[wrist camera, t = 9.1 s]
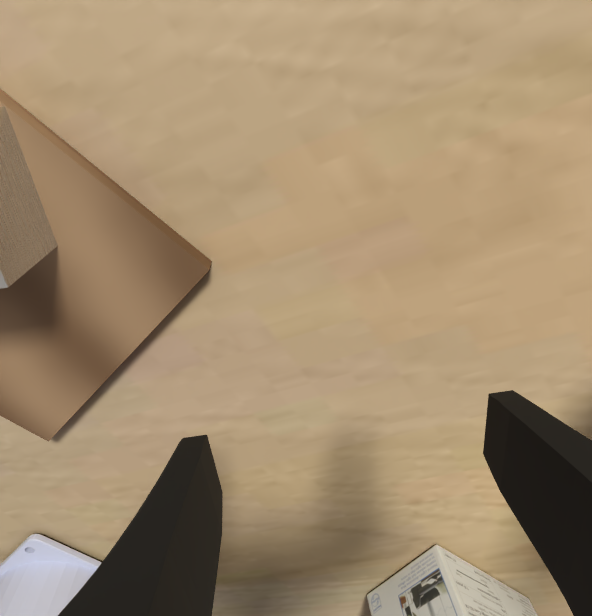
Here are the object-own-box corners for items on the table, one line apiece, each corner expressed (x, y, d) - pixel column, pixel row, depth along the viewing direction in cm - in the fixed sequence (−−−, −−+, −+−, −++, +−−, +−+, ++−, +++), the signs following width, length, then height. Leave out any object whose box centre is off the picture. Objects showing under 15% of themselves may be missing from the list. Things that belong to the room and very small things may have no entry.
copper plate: (56, 427, 23) (48, 441, 22) (-212, 277, 18) (-236, 287, 18) (211, 261, 20) (209, 269, 19) (-70, 32, 15) (-90, 29, 14)
